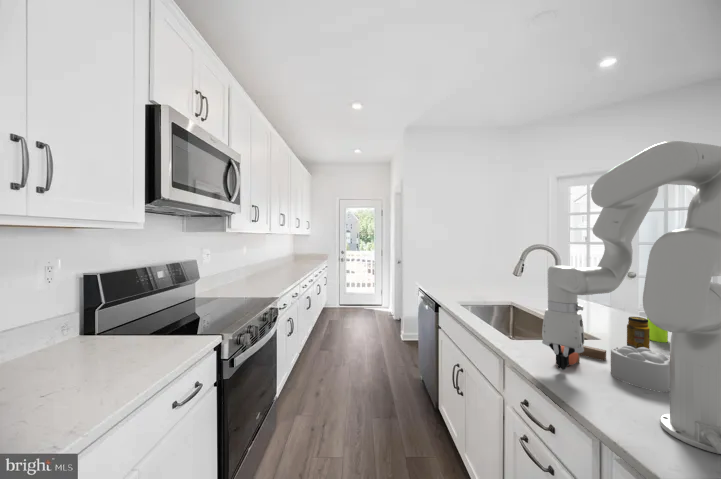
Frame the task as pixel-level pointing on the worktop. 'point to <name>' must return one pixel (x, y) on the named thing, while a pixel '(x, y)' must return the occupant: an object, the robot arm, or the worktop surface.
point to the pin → (578, 358)
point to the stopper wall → (594, 353)
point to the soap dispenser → (657, 333)
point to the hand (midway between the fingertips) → (562, 367)
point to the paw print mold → (641, 367)
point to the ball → (571, 357)
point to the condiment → (638, 332)
